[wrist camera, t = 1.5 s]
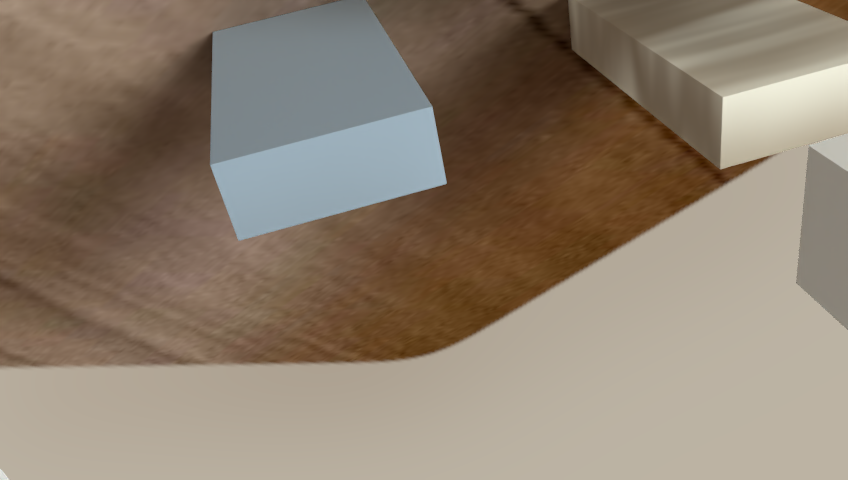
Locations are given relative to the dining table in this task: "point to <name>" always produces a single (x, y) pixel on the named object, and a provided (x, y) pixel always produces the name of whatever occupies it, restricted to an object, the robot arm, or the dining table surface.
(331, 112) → the domino
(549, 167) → the dining table surface
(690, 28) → the domino
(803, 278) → the robot arm
